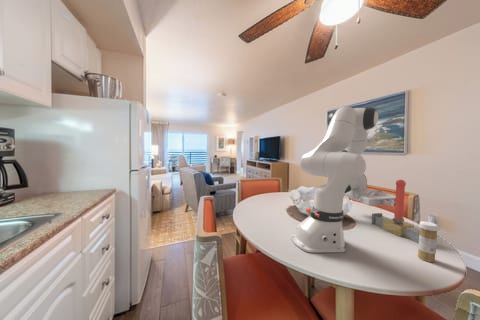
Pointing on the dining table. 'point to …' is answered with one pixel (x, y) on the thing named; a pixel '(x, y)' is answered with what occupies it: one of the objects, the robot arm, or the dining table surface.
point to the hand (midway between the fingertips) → (396, 204)
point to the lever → (399, 201)
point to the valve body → (396, 227)
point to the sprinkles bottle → (427, 241)
